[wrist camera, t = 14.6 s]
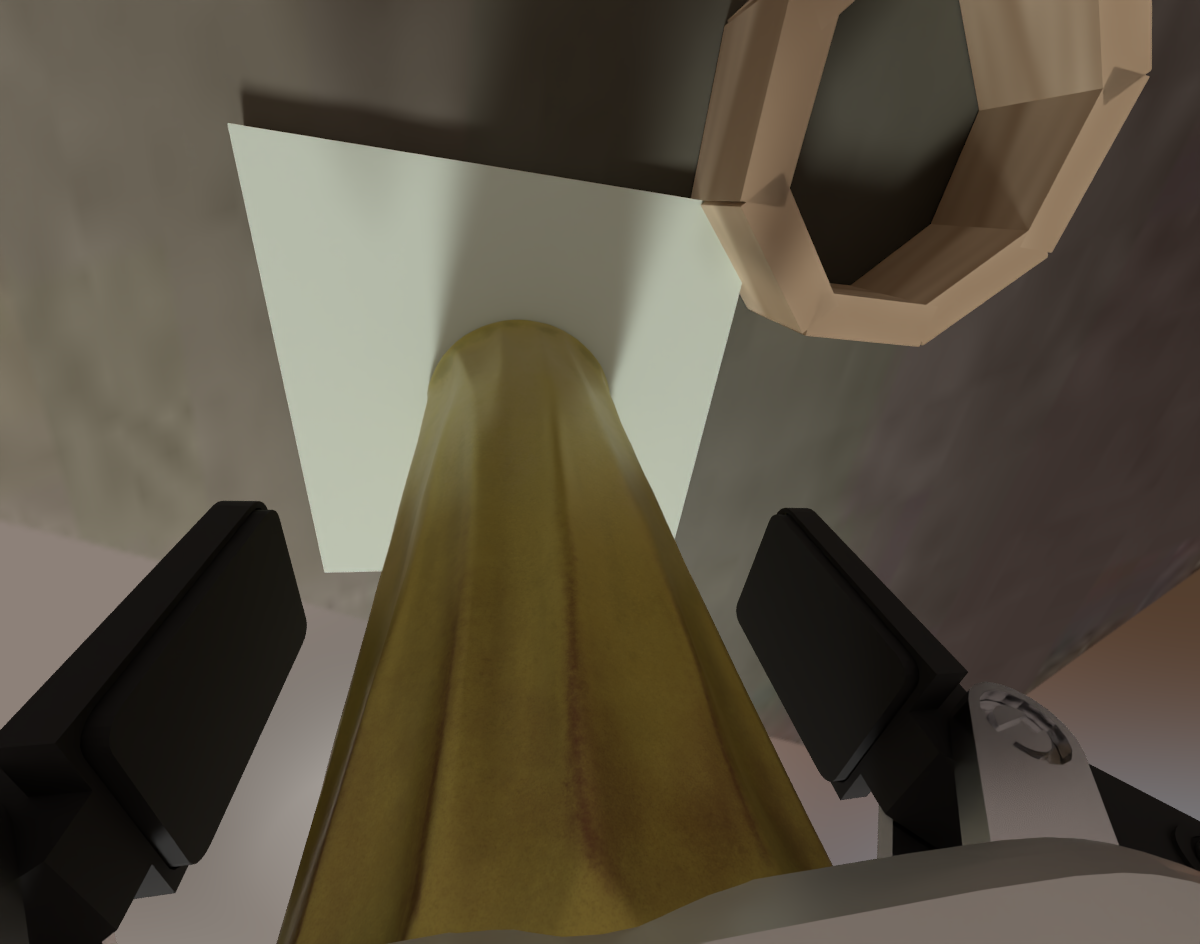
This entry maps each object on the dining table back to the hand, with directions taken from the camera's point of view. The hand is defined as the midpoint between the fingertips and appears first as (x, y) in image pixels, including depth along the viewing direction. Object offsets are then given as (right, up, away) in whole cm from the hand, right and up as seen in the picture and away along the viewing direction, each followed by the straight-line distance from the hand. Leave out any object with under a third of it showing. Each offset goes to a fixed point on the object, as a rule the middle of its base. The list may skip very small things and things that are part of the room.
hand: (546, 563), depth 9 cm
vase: (-2, +4, +7) cm, 8 cm away
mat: (-2, +4, +7) cm, 9 cm away
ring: (+9, +12, +5) cm, 16 cm away
